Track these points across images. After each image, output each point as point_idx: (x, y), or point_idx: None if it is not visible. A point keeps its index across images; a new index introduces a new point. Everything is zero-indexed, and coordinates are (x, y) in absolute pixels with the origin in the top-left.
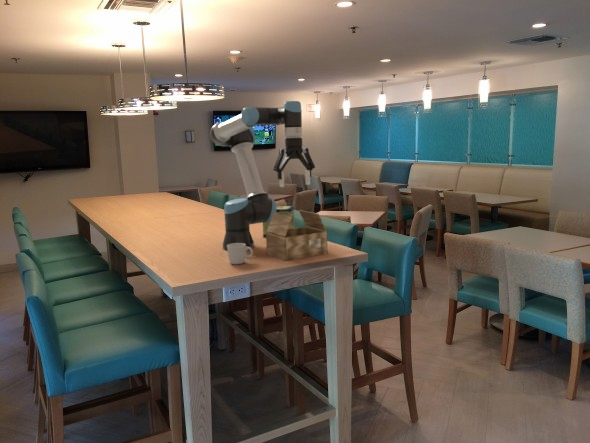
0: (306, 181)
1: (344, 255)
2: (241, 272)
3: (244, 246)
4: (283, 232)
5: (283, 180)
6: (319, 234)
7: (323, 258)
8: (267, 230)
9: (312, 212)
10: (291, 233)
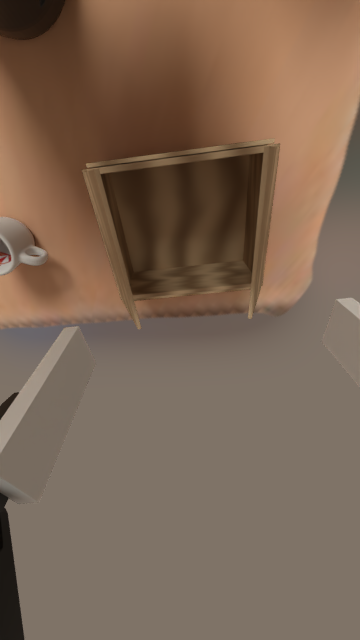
0: (350, 330)
1: (260, 295)
2: (32, 308)
3: (13, 269)
4: (120, 291)
5: (73, 407)
6: (232, 289)
7: (211, 295)
8: (85, 176)
9: (255, 280)
10: (195, 161)
